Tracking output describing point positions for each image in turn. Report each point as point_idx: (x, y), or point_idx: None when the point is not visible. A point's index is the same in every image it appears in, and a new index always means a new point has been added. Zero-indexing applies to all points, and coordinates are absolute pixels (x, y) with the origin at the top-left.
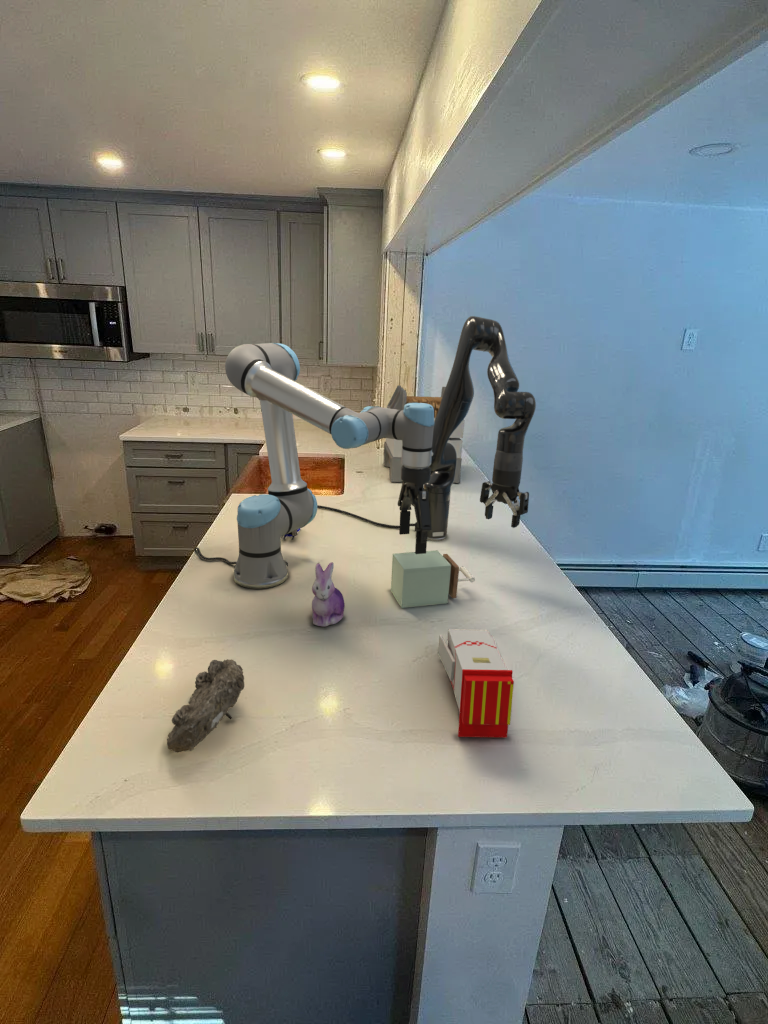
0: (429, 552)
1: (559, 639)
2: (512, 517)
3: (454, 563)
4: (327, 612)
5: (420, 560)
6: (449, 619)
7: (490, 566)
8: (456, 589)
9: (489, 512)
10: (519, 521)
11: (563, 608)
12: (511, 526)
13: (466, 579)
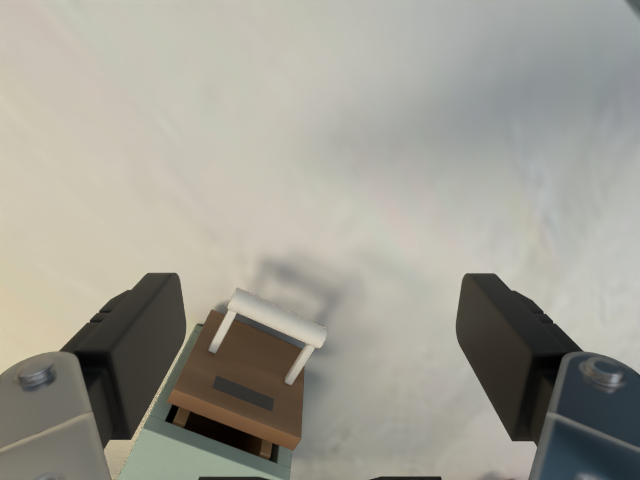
0: (144, 464)
1: (636, 294)
2: (500, 411)
3: (265, 430)
4: None
5: None
6: (357, 416)
7: (187, 12)
8: (303, 372)
9: (157, 362)
10: (546, 319)
11: (597, 112)
12: (463, 342)
13: (309, 355)
